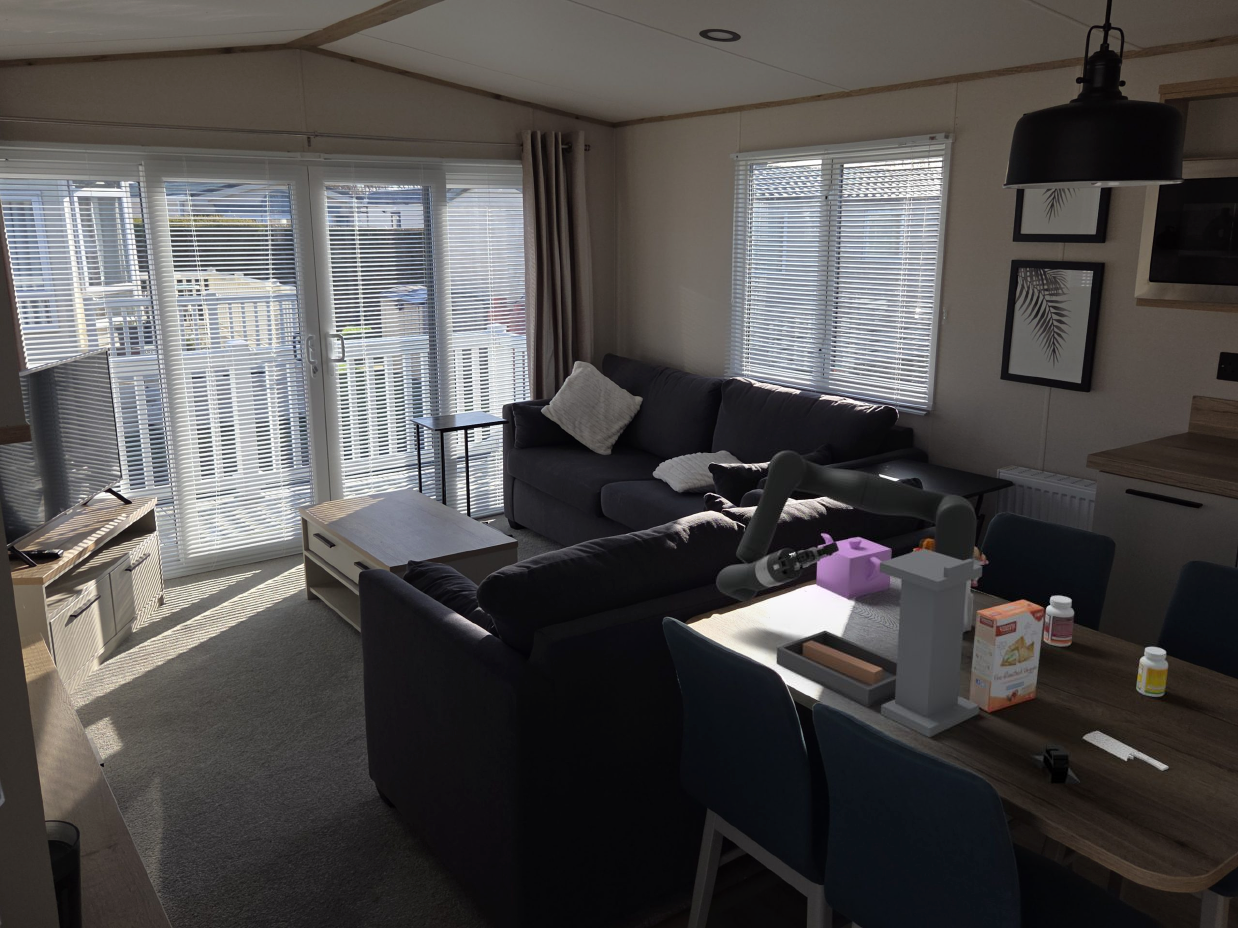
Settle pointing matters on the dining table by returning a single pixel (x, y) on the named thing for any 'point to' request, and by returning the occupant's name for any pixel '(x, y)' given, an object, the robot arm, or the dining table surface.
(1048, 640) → the pill bottle
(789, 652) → the tray
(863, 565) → the teapot
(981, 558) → the doll family
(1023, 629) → the cracker box
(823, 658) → the bar
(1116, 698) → the dining table surface
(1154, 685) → the supplement bottle
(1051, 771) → the black knife sharpener
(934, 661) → the stand
